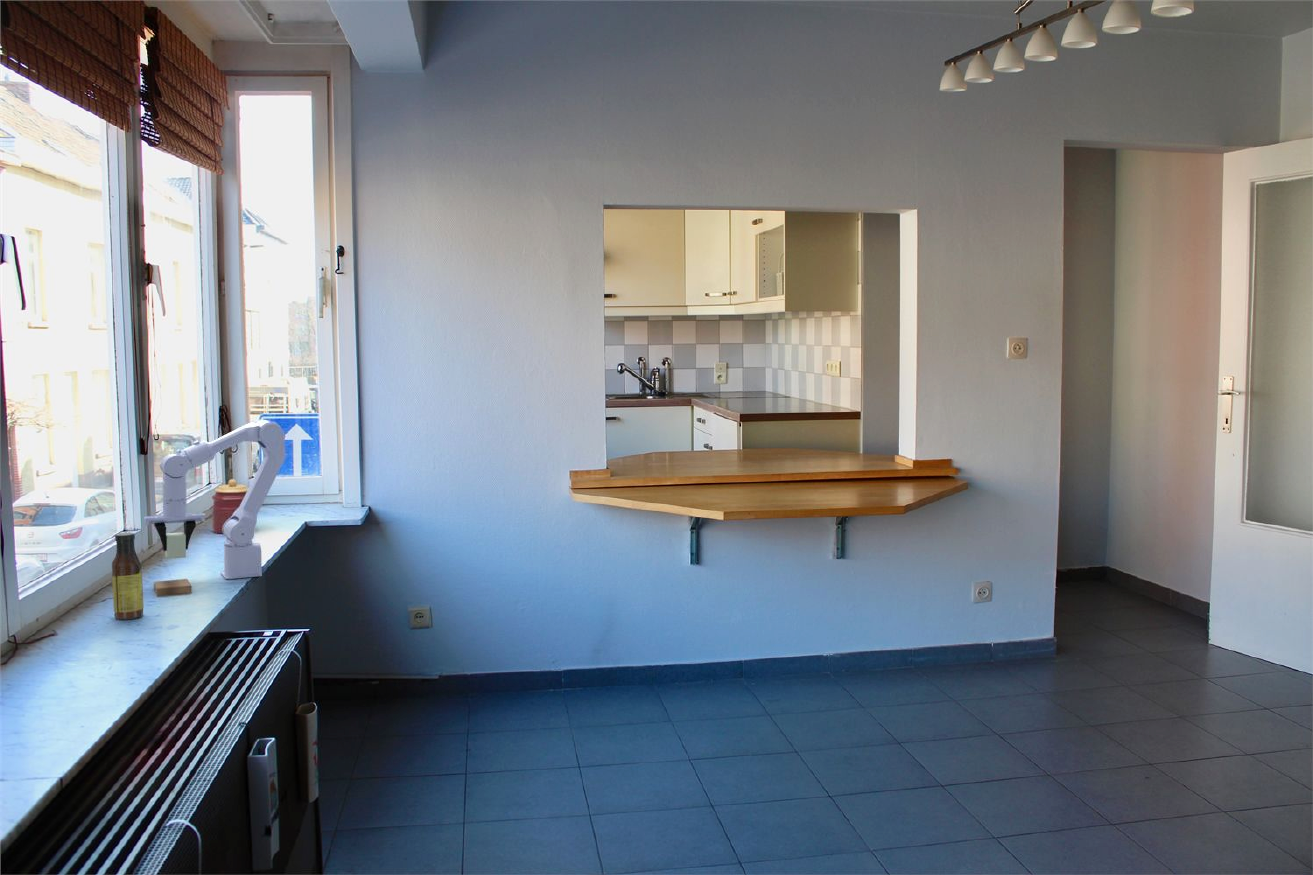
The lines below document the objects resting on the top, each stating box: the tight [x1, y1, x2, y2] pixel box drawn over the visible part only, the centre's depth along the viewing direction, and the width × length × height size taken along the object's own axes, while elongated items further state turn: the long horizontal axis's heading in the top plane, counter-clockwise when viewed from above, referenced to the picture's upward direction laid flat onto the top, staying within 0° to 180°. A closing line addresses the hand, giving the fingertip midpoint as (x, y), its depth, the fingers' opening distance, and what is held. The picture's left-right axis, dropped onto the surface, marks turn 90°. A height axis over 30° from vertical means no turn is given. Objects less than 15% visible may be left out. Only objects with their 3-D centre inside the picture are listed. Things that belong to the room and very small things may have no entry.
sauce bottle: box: [111, 531, 144, 620], centre depth 235 cm, size 6×6×20 cm
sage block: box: [164, 531, 187, 560], centre depth 269 cm, size 4×4×6 cm
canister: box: [211, 478, 249, 535], centre depth 340 cm, size 13×13×18 cm
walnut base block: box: [153, 578, 192, 597], centre depth 260 cm, size 8×8×2 cm
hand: (175, 549), depth 269 cm, fingers closed on sage block, 4 cm apart
